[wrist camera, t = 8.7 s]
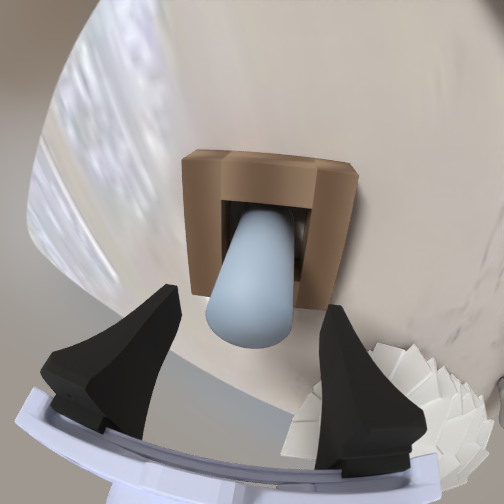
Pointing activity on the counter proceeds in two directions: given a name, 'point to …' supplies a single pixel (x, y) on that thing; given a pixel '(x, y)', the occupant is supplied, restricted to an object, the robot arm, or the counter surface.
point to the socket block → (268, 192)
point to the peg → (256, 280)
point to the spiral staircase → (429, 400)
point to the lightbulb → (503, 389)
